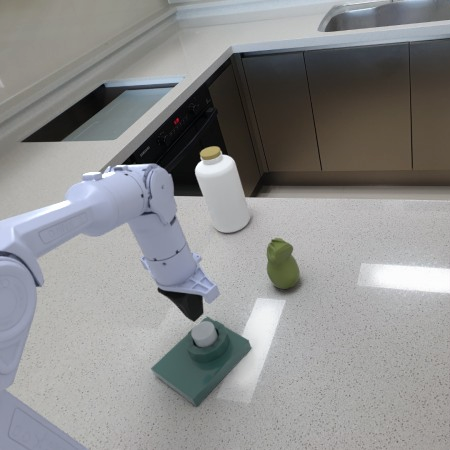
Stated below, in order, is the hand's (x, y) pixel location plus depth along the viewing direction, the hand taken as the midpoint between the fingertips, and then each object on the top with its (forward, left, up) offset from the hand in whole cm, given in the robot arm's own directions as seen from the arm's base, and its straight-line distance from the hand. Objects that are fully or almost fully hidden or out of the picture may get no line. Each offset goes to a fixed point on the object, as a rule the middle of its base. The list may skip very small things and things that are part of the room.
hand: (196, 315), depth 68 cm
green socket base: (-2, 0, -9) cm, 9 cm away
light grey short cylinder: (0, 0, -5) cm, 5 cm away
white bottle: (+27, +22, -9) cm, 36 cm away
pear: (+18, -1, -9) cm, 20 cm away
